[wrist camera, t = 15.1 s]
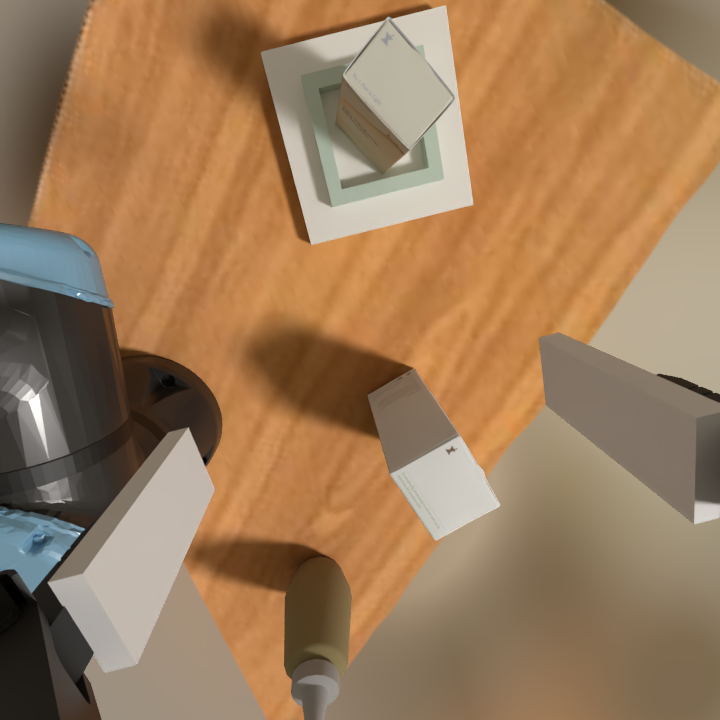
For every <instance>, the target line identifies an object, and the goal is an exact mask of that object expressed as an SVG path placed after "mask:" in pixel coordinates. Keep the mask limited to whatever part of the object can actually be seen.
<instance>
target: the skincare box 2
mask: <svg viewBox="0 0 720 720" xmlns="http://www.w3.org/2000/svg"><path fill="white" fill-rule="evenodd" d="M368 400H369V403H370V407H371V410H372V413H373V417H374V420H375V424H376V427H377V431H378V434H379V438H380V441H381V445H382V448H383V452H384V455H385V459H386V462H387V466H388V469H389V474H390V476H391V477H392V478H393V480H394V482H395V483H396V485H397V486H398V488H399V489H400V491H401V492H402V494H403V495H404V496H405V498H406V499H407V501H408V502H409V504H410V505H411V507H412V508H413V510H414V511H415V513H416V514H417V516H418V517H419V519H420V520H421V522H422V523H423V525H424V526H425V527H426V529H427V530H428V532H429V533H430V534H431V536H432V537H433V538H434V540H438V539H440V538H442V537H444V536H446V535H448V534H449V533H451V532H453V531H455V530H456V529H458V528H460V527H462V526H463V525H465V524H467V523H469V522H471V521H473V520H475V519H477V518H479V517H480V516H482V515H484V514H486V513H488V512H490V511H492V510H494V509H496V508H498V507H499V506H500V503H499V501H498V499H497V498H496V496H495V494H494V492H493V490H492V489H491V487H490V485H489V483H488V481H487V480H486V478H485V474H484V471H483V470H482V468H481V467H480V466H479V465H478V464H477V462H476V461H475V459H474V457H473V455H472V454H471V452H470V450H469V449H468V447H467V445H466V444H465V442H464V441H463V439H462V437H461V436H460V434H459V433H458V431H457V430H456V428H455V427H454V425H453V424H452V422H451V421H450V419H449V418H448V416H447V415H446V413H445V412H444V410H443V409H442V408H441V406H440V405H439V403H438V402H437V400H436V399H435V397H434V396H433V394H432V393H431V391H430V390H429V389H428V387H427V386H426V384H425V383H424V381H423V380H422V378H421V377H420V375H419V374H418V372H417V371H416V370H415V369H411V370H410V371H408V372H406V373H404V374H403V375H401V376H399V377H397V378H396V379H394V380H392V381H391V382H389V383H387V384H385V385H384V386H382V387H380V388H379V389H377V390H375V391H374V392H372V393H370V394H368Z"/></svg>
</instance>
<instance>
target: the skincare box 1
mask: <svg viewBox="0 0 720 720" xmlns="http://www.w3.org/2000/svg"><path fill="white" fill-rule="evenodd" d="M454 101H455V95H454V94H453V92H452V91H451V90H450V89H449V87H448V86H447V85H446V84H445V82H444V81H443V80H442V79H441V77H440V76H439V75H438V74H437V72H436V71H435V70H434V69H433V67H432V66H431V65H430V64H429V62H428V61H427V60H426V59H425V57H424V56H423V55H422V54H421V53H420V52H419V51H418V49H417V48H416V47H415V46H414V45H413V43H412V42H411V41H410V40H409V39H408V38H407V37H406V35H405V34H404V33H403V32H402V31H401V30H400V28H399V27H398V26H397V25H396V24H395V23H394V21H393V20H392V19H391V18H390V17H387V18H386V19H385V21H384V22H383V23H382V24H381V25H380V26H379V28H378V29H377V30H376V31H375V33H374V34H373V35H372V36H371V37H370V38H369V40H368V41H367V42H366V44H365V45H364V46H363V47H362V49H361V50H360V51H359V52H358V54H357V55H356V56H355V57H354V59H353V60H352V62H351V63H350V64H349V66H348V67H347V68H346V70H345V71H344V73H343V76H342V82H341V89H340V95H339V102H338V109H337V116H336V125H337V127H338V128H339V129H340V130H341V131H342V132H343V133H344V134H345V135H346V136H347V138H348V139H349V140H350V141H351V142H352V143H353V144H354V145H355V146H356V147H357V148H358V149H359V151H360V152H361V153H362V154H363V155H364V156H365V157H366V158H367V159H368V160H369V161H370V162H371V163H372V164H373V165H374V166H375V167H376V168H377V169H378V170H379V172H380V173H381V174H384V173H386V172H387V171H388V170H389V169H390V168H391V167H392V166H393V165H394V164H395V163H396V162H397V161H399V160H400V159H401V158H402V157H403V156H404V155H405V154H406V153H408V152H409V151H410V150H411V149H412V148H413V147H414V146H415V145H416V144H417V142H418V141H419V140H420V139H421V138H422V137H423V136H424V135H425V134H426V133H427V132H428V131H429V130H430V129H431V127H432V126H433V125H434V124H435V123H436V122H437V121H438V120H439V118H440V117H441V116H442V115H443V114H444V113H445V112H446V111H447V109H448V108H449V107H450V106H451V105H452V104H453V102H454Z"/></svg>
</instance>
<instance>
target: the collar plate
mask: <svg viewBox="0 0 720 720" xmlns="http://www.w3.org/2000/svg"><path fill="white" fill-rule="evenodd" d="M392 20H393V21H394V23H395V24H396V25H397V26H398V27H399V28H400V30H401V31H402V32H403V33H404V34H405V35H406V37H407V38H408V39H409V40H410V41H411V42H412V43H413V45H414V46H415V47H416V48H417V49H418V51H419V52H420V53H421V54H422V55H423V56H424V57H425V59H426V60H427V61H428V62H429V64H430V65H431V66H432V67H433V69H434V70H435V71H436V72H437V74H438V75H439V76H440V77H441V79H442V80H443V81H444V82H445V84H446V85H447V86H448V87H449V89H450V90H451V91H452V92H453V94H454V95H455V101H454V102H453V104H452V105H451V106H450V107H449V108H448V109H447V111H446V112H445V113H444V114H443V115H442V116H441V117H440V118H439V120H438V121H437V122H436V123H435V124H434V125H433V126H432V127H431V129H430V130H429V131H428V132H427V133H426V134H425V135H424V136H423V137H422V138H421V139H420V140H419V141H418V142H417V144H416V145H415V146H414V147H413V148H412V149H411V150H410V151H409V152H408V153H406V154H405V155H404V156H403V157H402V158H401V159H400V160H399V161H397V162H396V163H395V164H394V165H393V166H392V167H391V168H390V169H389V170H388V171H387V172H386V173H384V174H381V173H380V172H379V170H378V169H377V168H376V167H375V166H374V165H373V164H372V163H371V162H370V161H369V160H368V159H367V158H366V157H365V156H364V155H363V154H362V153H361V152H360V151H359V149H358V148H357V147H356V146H355V145H354V144H353V143H352V142H351V141H350V140H349V139H348V138H347V136H346V135H345V134H344V133H343V132H342V131H341V130H340V129H339V128H338V127H337V125H336V116H337V109H338V102H339V95H340V89H341V82H342V76H343V73H344V71H345V70H346V68H347V67H348V66H349V64H350V63H351V62H352V60H353V59H354V57H355V56H356V55H357V54H358V52H359V51H360V50H361V49H362V47H363V46H364V45H365V44H366V42H367V41H368V40H369V38H370V37H371V36H372V35H373V34H374V33H375V31H376V30H377V29H378V28H379V26H380V25H381V24H382V23H383V22H384V21H381V22H377V23H373V24H369V25H365V26H361V27H357V28H353V29H349V30H345V31H342V32H338V33H334V34H330V35H326V36H322V37H318V38H314V39H310V40H306V41H302V42H298V43H294V44H290V45H286V46H282V47H278V48H274V49H270V50H266V51H262V52H260V53H261V57H262V60H263V64H264V68H265V72H266V76H267V79H268V83H269V87H270V91H271V94H272V98H273V102H274V106H275V110H276V113H277V117H278V121H279V125H280V128H281V132H282V136H283V140H284V144H285V147H286V151H287V155H288V159H289V163H290V166H291V170H292V174H293V178H294V181H295V185H296V189H297V193H298V197H299V200H300V204H301V208H302V212H303V216H304V219H305V223H306V227H307V231H308V234H309V238H310V242H311V245H313V244H317V243H321V242H325V241H329V240H333V239H337V238H341V237H345V236H349V235H353V234H357V233H361V232H365V231H369V230H373V229H377V228H381V227H385V226H389V225H393V224H397V223H401V222H406V221H410V220H414V219H418V218H422V217H426V216H430V215H434V214H438V213H442V212H446V211H450V210H454V209H458V208H462V207H466V206H470V205H473V198H472V191H471V184H470V177H469V169H468V162H467V155H466V148H465V140H464V133H463V126H462V118H461V111H460V104H459V97H458V89H457V82H456V75H455V68H454V60H453V53H452V46H451V39H450V31H449V24H448V17H447V9H446V5H445V6H441V7H437V8H433V9H429V10H425V11H421V12H417V13H413V14H409V15H405V16H401V17H397V18H393V19H392Z"/></svg>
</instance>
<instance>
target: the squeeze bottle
mask: <svg viewBox="0 0 720 720" xmlns="http://www.w3.org/2000/svg"><path fill="white" fill-rule="evenodd" d="M351 599H352V596H351V591H350V587H349V584H348V582H347V580H346V578H345V576H344V574H343V572H342V570H341V568H340V566H339V565H338V564H337V563H336V562H335V561H334V560H332V559H330V558H326V557H314V558H310V559H308V560H306V561H304V562H303V563H302V564H301V565H300V567H299V568H298V569H297V571H296V573H295V575H294V577H293V579H292V581H291V582H290V584H289V586H288V588H287V592H286V596H285V640H284V667H285V670H286V674H287V675H288V676H289V677H290V678H291V679H292V686H291V694H292V698H293V700H294V701H295V702H296V703H297V704H298V705H300V706H303V712H304V719H305V720H324V716H325V711H326V706H327V705H329V704H331V703H332V702H333V701H334V700H335V699H336V698H337V696H338V693H339V678H340V677H341V676H342V675H343V674H344V673H345V670H346V667H347V664H348V650H349V633H350V616H351Z"/></svg>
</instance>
